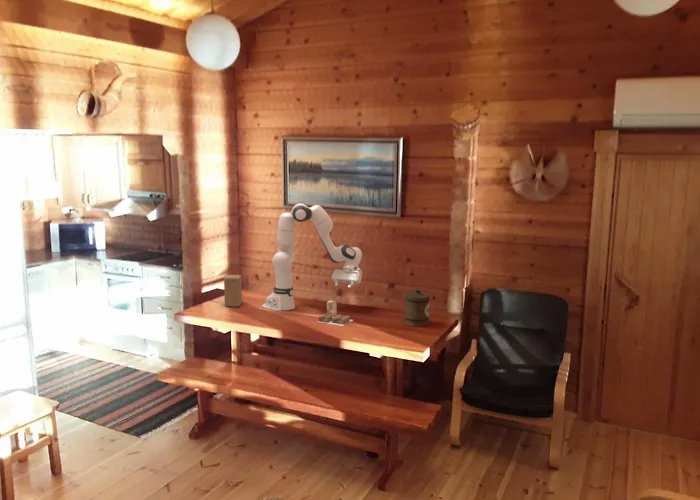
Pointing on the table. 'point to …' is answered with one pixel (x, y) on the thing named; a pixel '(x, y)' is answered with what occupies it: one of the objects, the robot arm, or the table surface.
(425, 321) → the wooden container
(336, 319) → the walnut slab
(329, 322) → the blueprint board
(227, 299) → the wooden block
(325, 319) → the walnut block
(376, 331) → the table surface
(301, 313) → the table surface
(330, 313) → the birch pillar
